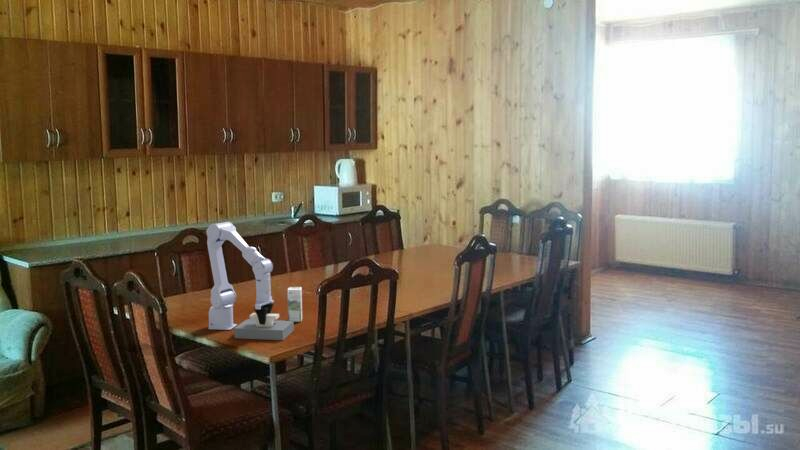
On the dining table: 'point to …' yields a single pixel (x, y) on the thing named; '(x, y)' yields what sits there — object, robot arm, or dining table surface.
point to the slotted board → (264, 330)
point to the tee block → (269, 318)
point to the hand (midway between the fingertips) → (264, 322)
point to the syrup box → (294, 304)
